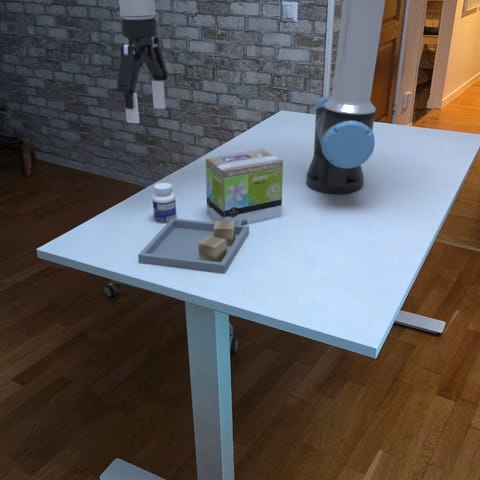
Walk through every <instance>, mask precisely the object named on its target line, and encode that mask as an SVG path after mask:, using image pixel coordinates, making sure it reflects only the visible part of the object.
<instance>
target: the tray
mask: <svg viewBox="0 0 480 480" xmlns="http://www.w3.org/2000/svg"><path fill="white" fill-rule="evenodd" d="M215 223H216V222H215V221H205V220H204V221H202V220H193V219H182V218H177V219H176V218H172V219H171V220H170V221H169V222H168V223H165V225H164V226H163V227H162V228H161V229H160V230H159V232H158V233H157V234H156V235H154V236H153V238H152V239H151V240H150V241H149V242H148V244H147V245H146V246H145V247H144V248H143V249H142V250H141V251H140V252H139V253H138V254H137V258H138V263H139V264H143V265H144V264H145V265H153V266H162V267H163V266H164V267H168V268H177V269H185V270H192V271H200V272H208V273H215V274H223V275H225V274H226V273H227V272H228V269H229V267H230V266H231V264H232V262H233V261H234V260H235V258H236V256H237V254H238V252H239V251H240V250H241V248H242V246H243V245H244V242H245V241H246V240H247V238H248V237H249V235H250V225H245V226H242V225H235V241H234V243H233V244H232V246H226V249H227V254H226V255H225V257H224V258H223V260H222V261H221V262H213V261H205V260H199V247H198V243H199V242H201V241H202V240H204V239H205V238H206V237H208V236H209V235H210V236H214V226H215Z"/></svg>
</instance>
